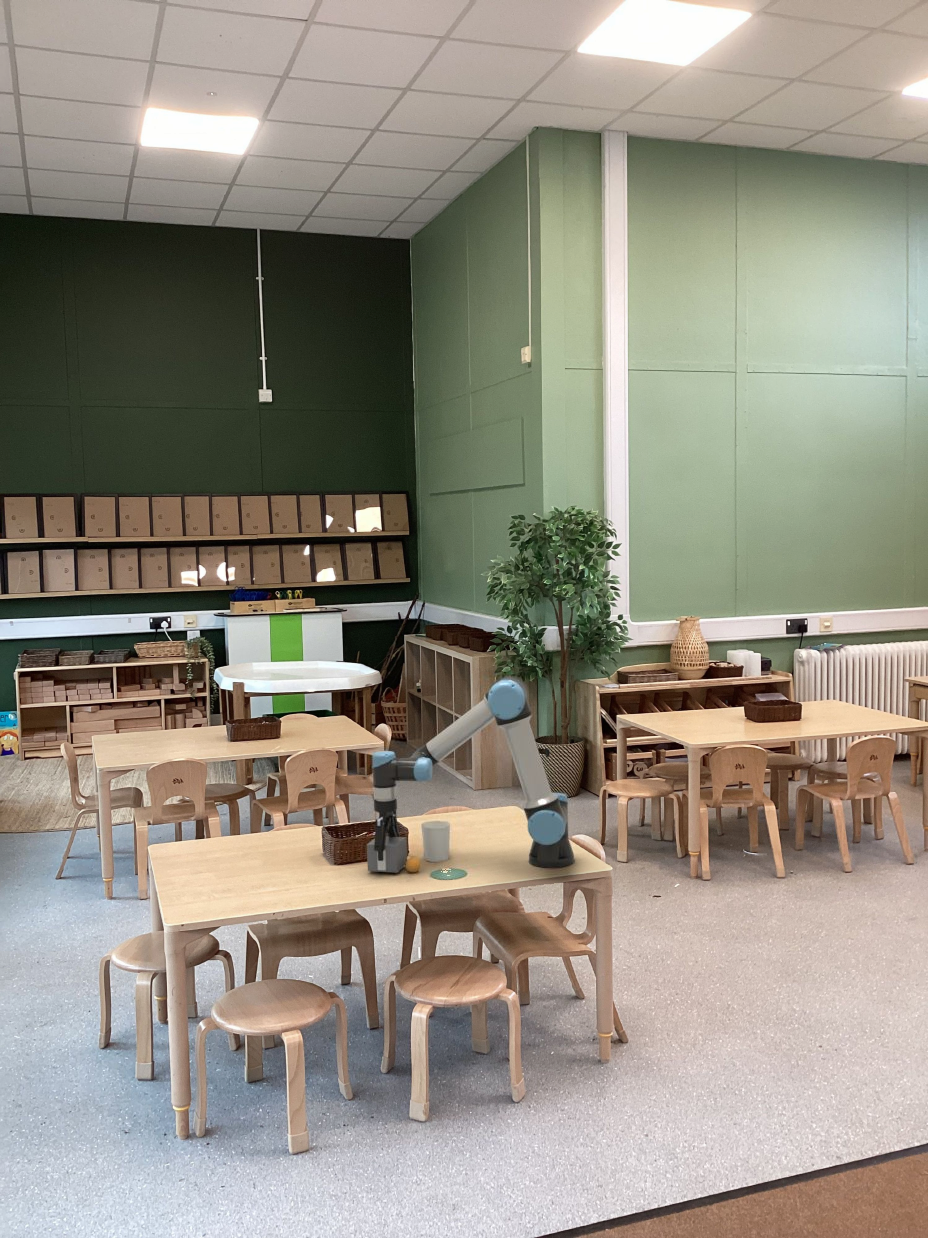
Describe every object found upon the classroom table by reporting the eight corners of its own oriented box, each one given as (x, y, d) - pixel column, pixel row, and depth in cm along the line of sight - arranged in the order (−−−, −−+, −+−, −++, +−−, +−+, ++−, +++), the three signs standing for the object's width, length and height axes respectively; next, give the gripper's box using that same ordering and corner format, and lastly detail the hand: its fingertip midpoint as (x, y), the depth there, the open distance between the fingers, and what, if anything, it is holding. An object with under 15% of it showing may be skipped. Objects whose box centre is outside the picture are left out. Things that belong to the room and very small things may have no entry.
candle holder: (447, 863, 362) (446, 828, 361) (419, 862, 364) (418, 827, 363) (453, 855, 372) (452, 820, 371) (426, 854, 374) (425, 820, 373)
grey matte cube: (407, 863, 359) (406, 837, 359) (397, 872, 349) (396, 846, 349) (378, 862, 362) (377, 836, 361) (367, 871, 352) (366, 844, 352)
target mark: (471, 869, 354) (471, 869, 354) (461, 881, 343) (461, 880, 343) (436, 867, 357) (436, 867, 357) (425, 878, 346) (425, 878, 346)
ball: (423, 870, 355) (422, 855, 355) (418, 875, 350) (417, 859, 350) (408, 869, 356) (408, 854, 356) (403, 874, 352) (403, 859, 351)
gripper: (386, 790, 366) (389, 854, 368) (361, 806, 344) (364, 875, 346) (407, 791, 364) (409, 855, 366) (383, 807, 342) (386, 876, 344)
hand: (387, 865), depth 356 cm, fingers closed on grey matte cube, 10 cm apart
